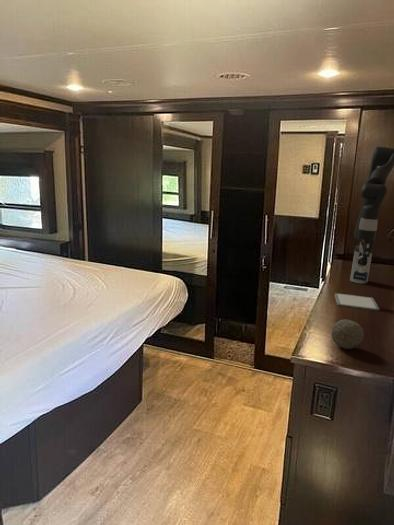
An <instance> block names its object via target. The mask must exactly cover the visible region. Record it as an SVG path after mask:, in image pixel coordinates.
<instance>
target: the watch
mask: <svg viewBox="0 0 394 525" xmlns="http://www.w3.org/2000/svg"><path fill="white" fill-rule="evenodd" d="M361 261H362V256H360V257H359V258H358V259H357V260H356V264H357V268H358V271H355V272H354V276H353V279H357V280H362V281H366V280H367V278H368V279H369V275H368V273H367V272H364V271H365V269H366V266H363V265H361ZM367 264H369V263H368V261H367ZM367 264H366V265H367Z"/></svg>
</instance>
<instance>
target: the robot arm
mask: <svg viewBox="0 0 394 525" xmlns="http://www.w3.org/2000/svg"><path fill="white" fill-rule="evenodd" d="M371 156H372V157H371V162H370V166H369V167H370V168H369V173H368V178H367V180H366V182H365V183H364V184H363V185H362V187H361V189H360V192H359V193H360V197H361V198H362V202H361V207H360V210H359V211H360V212H359V215H358V218H357V222H356V224H355V228H354V231H353V232H354V233H353V234H354V239H355V240H359V241H360V242H359V244H358V245H356V246H355V247H354V252H353V258H352V259H353V260H352V265H351V271H350V276H349V281H350V282H353V283H356V284H367V283H368V279H369V277H368V278H367V280H366V281H362V280H357V279H353V276H354V272H355V271H358V268H357V264H356V260H357V259H358V258H359V257H360V256H362V261H361V265H363V266H366V269H365V271H364V272H367V273H368V276H369V275H370V269H371V262H372V256H373V252H374V246H375V241H376V236H377V231H378V224H379V223H378V221H379V220H378V219H379V214H380V209H381V206H382V205H383V202H384V200H385V198H386V195H387V192H388V189H387V186H386V183H387V180H388V177H389V175H390V173H391V172H392V170H393V168H394V148H393V147H385V146H376V147H375V148H374V150H373V153H372V155H371ZM367 261H368V263H369V264H367ZM366 264H367V265H366Z"/></svg>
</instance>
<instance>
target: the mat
mask: <svg viewBox="0 0 394 525" xmlns="http://www.w3.org/2000/svg"><path fill="white" fill-rule="evenodd" d="M334 294H335V295H334V298H335V301H336V304H337V306H339V307H344V308H345V307H347V308H356V309H362V310H369V311H370V310H371V311H378V312H380V311H381V309H380V307H379V306H378V304H377V302H376V300H375V299H374V298H373V297H369V296H362V295H355V294H347V293H339V292H338V293H337V292H334Z"/></svg>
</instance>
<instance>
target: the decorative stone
mask: <svg viewBox="0 0 394 525" xmlns="http://www.w3.org/2000/svg"><path fill="white" fill-rule="evenodd" d="M364 335H365V334H364V329H363V328H362V326H361V325H360V324H359V322H356V321H353V320H350V319H345V318H344V319H343V318H342V319H340V320H338V321H337V322H335V324H334V325H333V327H332V329H331V338H332V340H333V342H334V343H335V344H336V346H337V347H339V348H341V349H344V350H351V349H354V348H356V347H357V346H359V345H360V343H361V342H362V341H363V340H364Z"/></svg>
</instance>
